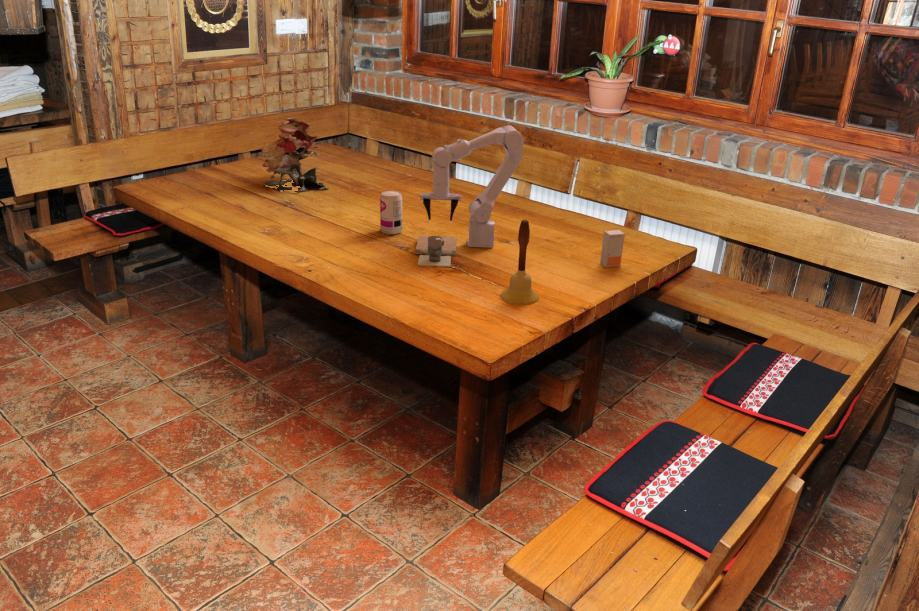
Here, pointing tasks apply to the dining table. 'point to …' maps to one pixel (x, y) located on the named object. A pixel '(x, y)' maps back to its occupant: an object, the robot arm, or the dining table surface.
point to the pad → (443, 262)
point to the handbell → (521, 274)
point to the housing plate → (447, 245)
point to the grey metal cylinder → (434, 248)
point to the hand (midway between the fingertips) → (440, 219)
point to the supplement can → (391, 212)
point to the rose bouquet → (290, 155)
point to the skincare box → (612, 248)
